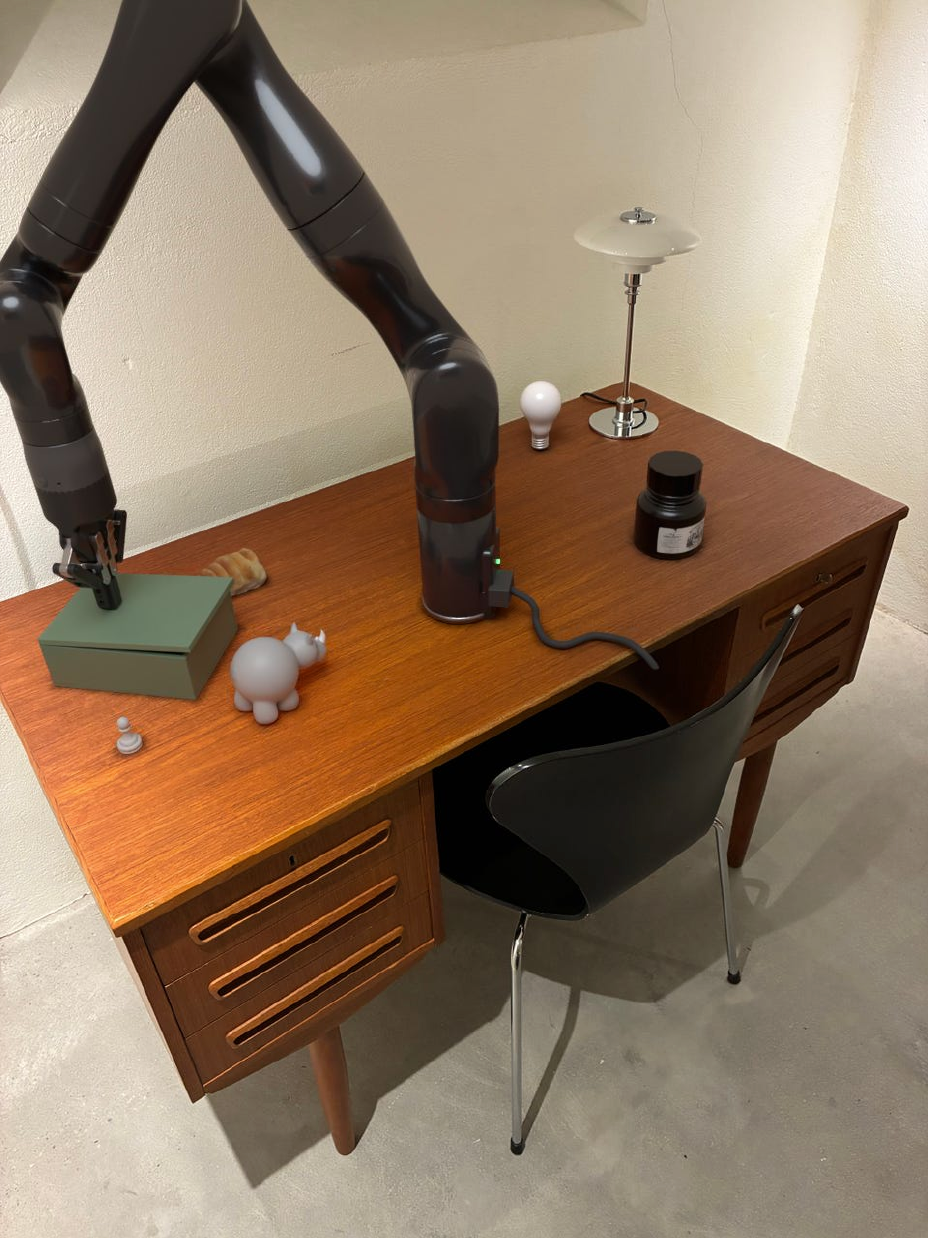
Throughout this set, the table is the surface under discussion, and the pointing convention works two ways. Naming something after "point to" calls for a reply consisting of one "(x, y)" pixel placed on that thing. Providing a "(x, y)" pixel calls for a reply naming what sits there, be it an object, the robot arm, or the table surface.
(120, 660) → the chess box
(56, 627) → the box lid
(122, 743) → the pawn
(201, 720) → the table surface
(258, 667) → the toy rhinoceros
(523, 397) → the lightbulb
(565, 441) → the table surface
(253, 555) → the pastry
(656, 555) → the ink bottle
